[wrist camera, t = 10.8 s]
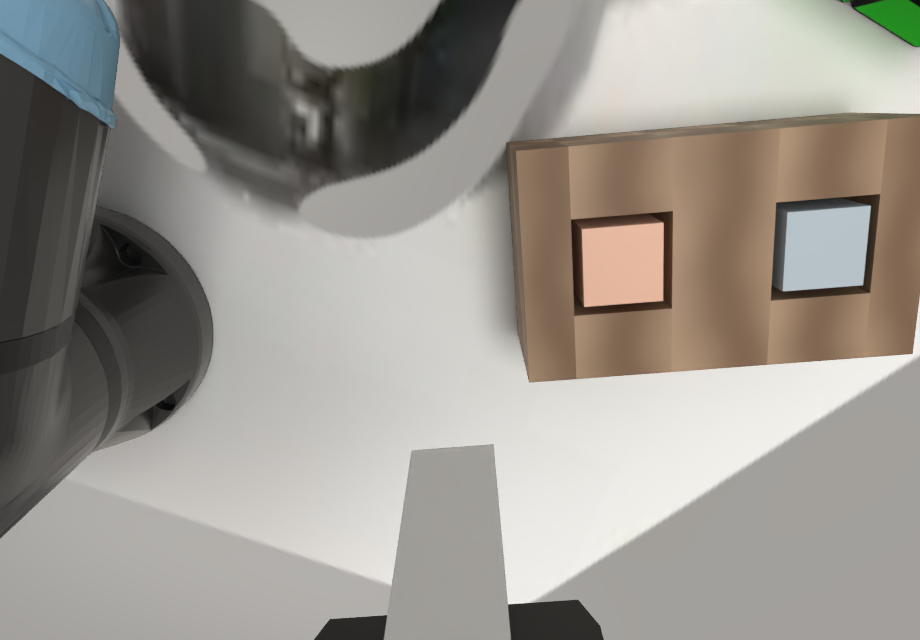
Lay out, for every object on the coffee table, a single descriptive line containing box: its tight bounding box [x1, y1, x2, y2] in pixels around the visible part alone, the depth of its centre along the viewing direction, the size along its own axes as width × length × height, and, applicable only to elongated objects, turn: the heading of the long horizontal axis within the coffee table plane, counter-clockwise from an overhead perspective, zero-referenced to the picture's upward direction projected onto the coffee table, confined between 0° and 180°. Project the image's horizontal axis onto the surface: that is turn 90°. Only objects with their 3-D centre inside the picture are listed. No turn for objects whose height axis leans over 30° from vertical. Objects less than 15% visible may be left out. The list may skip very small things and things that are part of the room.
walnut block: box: [506, 113, 920, 382], centre depth 38 cm, size 20×12×8 cm, turn 95°
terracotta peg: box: [571, 213, 664, 307], centre depth 37 cm, size 4×4×8 cm
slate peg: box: [772, 198, 871, 291], centre depth 37 cm, size 4×4×8 cm
